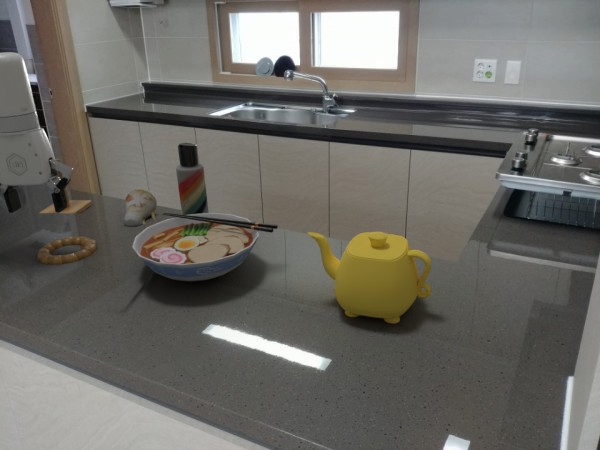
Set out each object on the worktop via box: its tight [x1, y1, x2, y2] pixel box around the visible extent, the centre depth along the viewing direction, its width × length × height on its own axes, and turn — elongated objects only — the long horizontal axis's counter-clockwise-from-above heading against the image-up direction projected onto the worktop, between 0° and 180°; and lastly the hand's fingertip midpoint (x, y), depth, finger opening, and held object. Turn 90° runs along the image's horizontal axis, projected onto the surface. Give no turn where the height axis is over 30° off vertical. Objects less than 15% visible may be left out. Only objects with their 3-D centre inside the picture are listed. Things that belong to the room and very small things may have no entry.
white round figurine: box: [123, 188, 158, 227], centre depth 123 cm, size 8×10×10 cm
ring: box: [36, 236, 98, 266], centre depth 108 cm, size 11×11×2 cm
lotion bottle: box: [175, 142, 210, 215], centre depth 114 cm, size 6×6×20 cm
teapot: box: [307, 231, 433, 324], centre depth 85 cm, size 14×20×13 cm
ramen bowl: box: [131, 212, 279, 282], centre depth 99 cm, size 25×23×8 cm
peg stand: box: [39, 157, 93, 214], centre depth 130 cm, size 9×9×13 cm
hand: (38, 210), depth 105 cm, fingers open, 9 cm apart
